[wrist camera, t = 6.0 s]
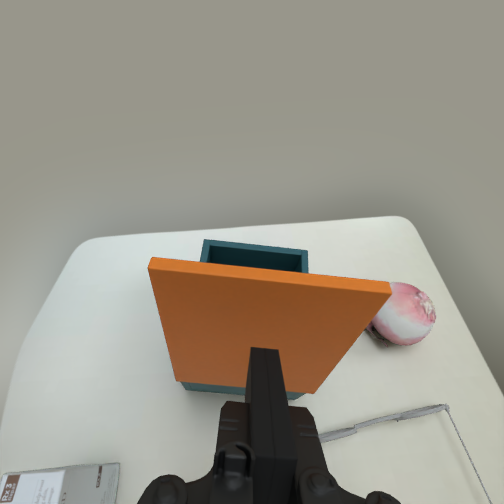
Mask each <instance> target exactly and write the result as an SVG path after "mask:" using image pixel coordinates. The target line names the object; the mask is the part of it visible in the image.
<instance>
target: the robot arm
mask: <svg viewBox="0 0 504 504" xmlns="http://www.w3.org/2000/svg"><path fill="white" fill-rule="evenodd" d="M137 504H401V503H400V502H399V501H398V500H397V499H395V498H394V497H392V496H391V495H389V494H387V493H384V492H382V491H373V492H371V493H369V494H368V495H367V497H366V499H364V498H362V497H359V496H357V495H354V494H352V493H350V492H348V491H346V490H344V489H343V488H341V487H340V486H339V485H338V484H337V482H336V480H335V478H334V477H333V476H332V475H331V474H330V473H329V471H328V468H327V465H326V461H325V458H324V454H323V450H322V447H321V443H320V439H319V438H318V432H317V429H316V425H315V421H314V418H313V416H312V414H311V413H310V412H309V411H308V409H307V408H306V407H295V406H288V401H287V395H286V389H285V384H284V378H283V372H282V366H281V361H280V355H279V350H278V349H268V348H258V347H251V349H250V357H249V364H248V372H247V380H246V388H245V403H244V402H233V401H226V403H225V404H224V406H223V407H222V408H221V413H220V421H219V429H218V437H217V445H216V452H215V455H214V464H213V467H212V468H211V470H210V471H209V473H208V474H207V475H205V476H204V477H202V478H201V479H198V480H196V481H192V482H188V483H185V482H184V480H183V479H181V478H180V477H178V476H176V475H169V474H168V475H164V476H160V477H158V478H156V479H155V480H153V481H152V482H151V483H150V484H149V486H148V487H147V488H146V489H145V491H144V493H143V494H142V496H141V498H140V499H139V501H138V503H137Z"/></svg>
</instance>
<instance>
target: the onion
mask: <svg viewBox="0 0 504 504" xmlns="http://www.w3.org/2000/svg"><path fill="white" fill-rule="evenodd" d="M389 284H390V287H391V290H392V295H391V296H390V297H389V299H388V300H387V301H386V303H385V304H384V305H383V306H382V308H381V309H380V310H379V312H378V313H377V314H376V315H375V317H374V318H373V319H372V320H371V322H370V323H369V324H368V326H367V327H366V329H367V330H368V331H369V332H370V333H371V334H372V335H374V334H373V333H372V331H374V330H373V328H372V326H374V327H375V328H376V330H377V331H378V332H379V334H380V335H382V336H383V337H384V338H386V339H387V340H389V341H391V342H393V343H395V344H398V345H412V344H415V343H418V342H419V341H421V340H422V339H423V338H425V337H426V336H427V335H428V334H429V333H430V331H431V329H432V327H433V325H434V323H435V319H436V314H435V308H434V305H433V303H432V301H431V300H430V299H429V297H428V296H427V295H426V293H424V292H422V291H420V290H419V289H417V288H416V287H414V286H412V285H409V284H405V283H397V282H394V283H389ZM374 336H375V335H374ZM375 337H377V336H375ZM377 339H379V340H380V341H382V342H383V343H384V344H385V345H386V346H387V347H388V345H387V344H386V343H385V342H384V341H383V340H384V339H381V338H378V337H377Z"/></svg>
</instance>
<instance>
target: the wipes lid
mask: <svg viewBox="0 0 504 504" xmlns="http://www.w3.org/2000/svg"><path fill="white" fill-rule="evenodd" d="M148 272H149V276H150V280H151V284H152V288H153V292H154V296H155V299H156V303H157V307H158V311H159V315H160V319H161V323H162V327H163V331H164V335H165V339H166V343H167V347H168V351H169V355H170V359H171V363H172V367H173V371H174V375H175V379H176V381H180V382H190V383H201V384H212V385H223V386H234V387H245V388H246V380H247V372H248V364H249V357H250V349H251V347H258V348H268V349H278V350H279V355H280V361H281V366H282V372H283V378H284V384H285V389H286V391H289V392H300V393H311V394H314V393H315V392H316V391H317V389H318V388H319V387H320V385H321V384H322V383H323V382H324V380H325V379H326V378H327V377H328V375H329V374H330V373H331V371H332V370H333V369H334V368H335V366H336V365H337V364H338V363H339V361H340V360H341V359H342V357H343V356H344V355H345V354H346V352H347V351H348V350H349V348H350V347H351V346H352V345H353V343H354V342H355V341H356V340H357V338H358V337H359V336H360V334H361V333H362V332H363V331H364V329H365V328H366V327H367V326H368V324H369V323H370V322H371V320H372V319H373V318H374V317H375V315H376V314H377V313H378V312H379V310H380V309H381V308H382V306H383V305H384V304H385V303H386V301H387V300H388V299H389V297H390V296H391V295H392V290H391V287H390V284H389V282H384V281H375V280H365V279H356V278H346V277H337V276H328V275H318V274H309V273H299V272H290V271H280V270H271V269H261V268H252V267H242V266H233V265H223V264H214V263H204V262H195V261H186V260H176V259H167V258H157V257H152V258H151V260H150V263H149V265H148Z"/></svg>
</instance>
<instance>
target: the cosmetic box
mask: <svg viewBox="0 0 504 504" xmlns="http://www.w3.org/2000/svg"><path fill="white" fill-rule="evenodd" d="M119 469H120V464H119V463H112V464H95V465H75V466H67V467H58V468H49V469H40V470H32V471H23V472H11V473H5V474H4V475H3V476H2V478H1V482H0V504H115V499H116V493H117V486H118V478H119Z"/></svg>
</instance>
